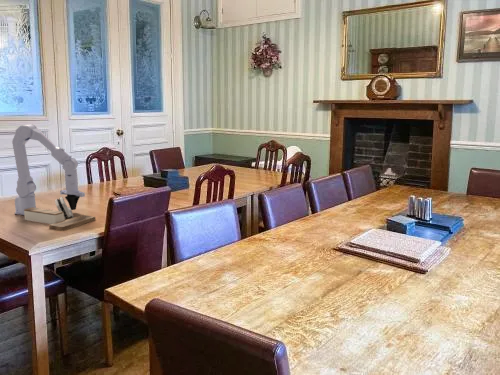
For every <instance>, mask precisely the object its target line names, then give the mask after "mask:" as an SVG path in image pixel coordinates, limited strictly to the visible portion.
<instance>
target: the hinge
mask: <svg viewBox="0 0 500 375" xmlns="http://www.w3.org/2000/svg"><path fill="white" fill-rule="evenodd" d="M54 203H55V205H56V208H57V211H62V212H64V220H66V218H74V213H73V210H71V208H70V206H69V207H68V205H67V203H66V201H65V199H64V198H63V196H61V197H59V198H56V199H55V200H54Z"/></svg>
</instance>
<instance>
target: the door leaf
mask: <svg viewBox="0 0 500 375" xmlns="http://www.w3.org/2000/svg"><path fill="white" fill-rule="evenodd" d="M93 221H96V216H91V215H84V214H81V215H78V216H75V217H74V218H73V217H70V218H68V219H64V221H61V222H58V223H54V224H48V229H52V230H56V229H57V231H62V230H63V231H65V230H68V229H71V228H75V227H78V226H81V225H84V224H87V223H91V222H93Z"/></svg>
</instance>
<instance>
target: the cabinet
mask: <svg viewBox="0 0 500 375" xmlns="http://www.w3.org/2000/svg"><path fill="white" fill-rule="evenodd" d="M23 216H24V221H30V222H37V223H42V224H48V225H51V224H54V223H58V222H61V221H64V220H65V219H64V212H62V211H59V210H53V209H47V208H46V209H45V208H41V207H36V208H34V207H32V208H28V209H24V215H23Z"/></svg>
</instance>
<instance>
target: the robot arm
mask: <svg viewBox="0 0 500 375" xmlns="http://www.w3.org/2000/svg"><path fill="white" fill-rule="evenodd" d="M30 140H33V141H38V143H40V144H41V145H42V146H44V147H45V148H46V149H47V150H49V151H50V154H51V157H52V158H53V159H55V160H56V161H57V162H58V164H60V165H62V169H63V170H64V178H65V181H64V182H65V184H64V185H65V189H63V190H62V189H61V190H59V194H60V195H61V196H62V195H66V196H65V197H64V198H65V200H66V201H67V203H68V205H69V208H71V210H72V211H75V210H77V205H78V202H79V199H80V198H84V197H86V193H85V192H84V191H83V192H82V191H80V190H79V185H78V184H79V182H78V172H77V170H78V169H77V168H78V167H79V166H78V165H79V163H78V160H77V159H76V158H74V157H72V155H69V154H68V153H67V152H66V151H65V148H62V147H60V146H59V147H58V146H56V145H55V144H54V143H53V142H52V141H51V140H50V139H49V138H48V137H47V136H46V135H45V134H44V133H43V132H42V130H41V129H40V128H38V127H37V126H36V125H35V124H33V123H29V124H22V125H20V126H19V127H17V128H16V129H15V133H14V136H13V138H12V141H11V142H12V148H13V149H12V150H13V153H14V155H13V156H14V160H15V165H16V171H17V176H18V177H17V181H16V184H17V185H16V190H15V192H16V194H17V196H15V199H14V208H15V212H14V214H16V215H21V216H25V215H24V209H28V208H32V207H34V208H37V204H36V195H35V192H36V190H37V186H36V184H35V182H34V179H33V177H32V176H31V173H30V172H31V171H30V167H29V160H28V154H27V151H26V150H27V149H26V144H27V143H28V142H29V141H30Z"/></svg>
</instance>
